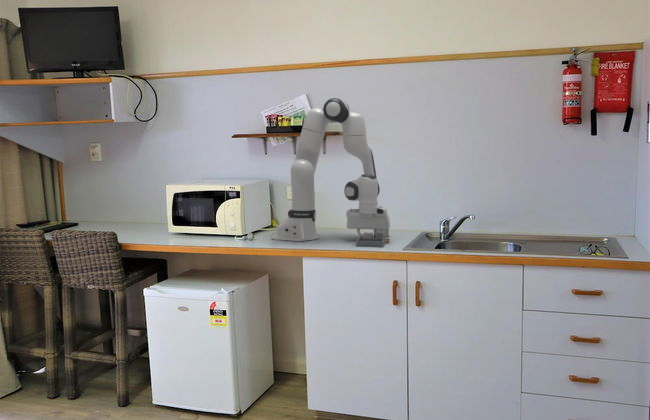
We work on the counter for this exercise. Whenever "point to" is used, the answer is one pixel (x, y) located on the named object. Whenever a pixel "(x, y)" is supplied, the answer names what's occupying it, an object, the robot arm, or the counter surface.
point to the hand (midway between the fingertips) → (368, 238)
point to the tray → (386, 240)
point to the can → (386, 232)
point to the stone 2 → (380, 235)
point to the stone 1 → (367, 235)
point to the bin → (370, 242)
